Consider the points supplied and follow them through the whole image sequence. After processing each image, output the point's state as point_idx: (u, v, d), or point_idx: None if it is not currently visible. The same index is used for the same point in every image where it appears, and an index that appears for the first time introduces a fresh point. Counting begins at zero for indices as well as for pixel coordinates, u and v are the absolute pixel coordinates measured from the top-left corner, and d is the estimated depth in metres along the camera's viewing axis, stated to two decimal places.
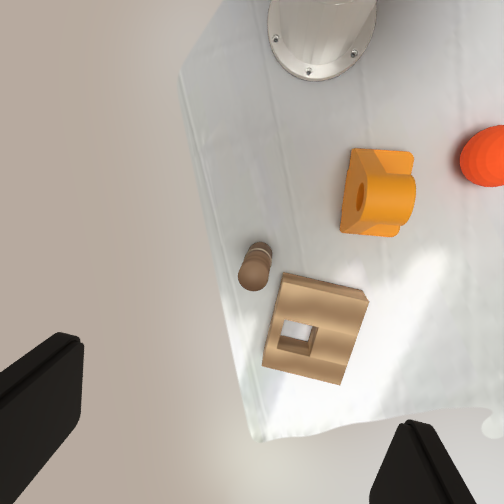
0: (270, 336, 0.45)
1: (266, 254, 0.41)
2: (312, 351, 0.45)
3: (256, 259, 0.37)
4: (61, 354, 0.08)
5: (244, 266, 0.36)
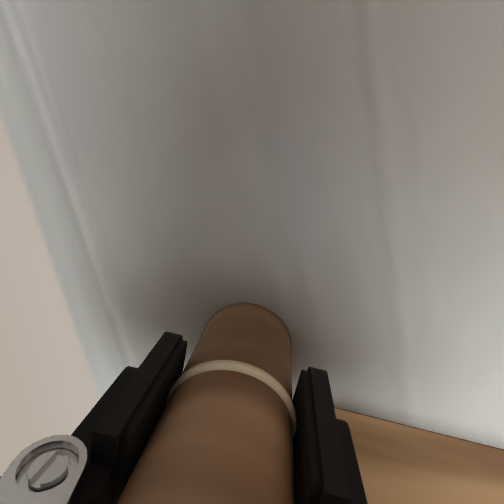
0: None
1: (272, 407, 0.07)
2: None
3: None
4: (176, 351, 0.09)
5: None
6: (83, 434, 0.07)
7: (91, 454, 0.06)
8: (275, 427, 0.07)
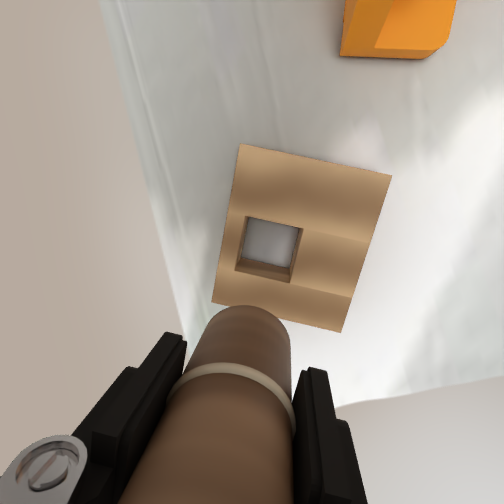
0: (223, 248, 0.26)
1: (271, 410, 0.07)
2: (294, 273, 0.26)
3: None
4: (176, 351, 0.09)
5: None
6: (83, 434, 0.07)
7: (91, 454, 0.06)
8: (274, 430, 0.07)
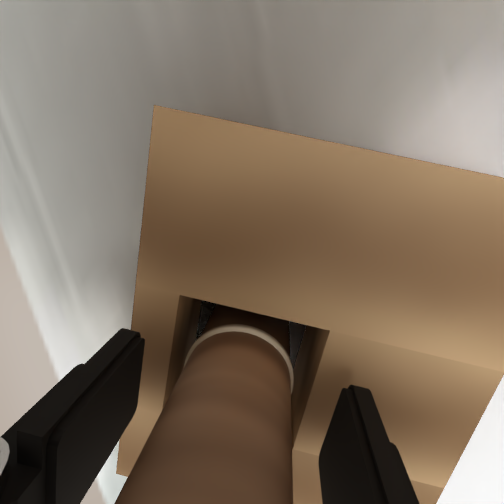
0: None
1: (273, 358, 0.09)
2: (303, 429, 0.11)
3: (212, 461, 0.06)
4: (129, 348, 0.09)
5: None
6: (16, 434, 0.06)
7: (17, 455, 0.06)
8: (276, 372, 0.09)
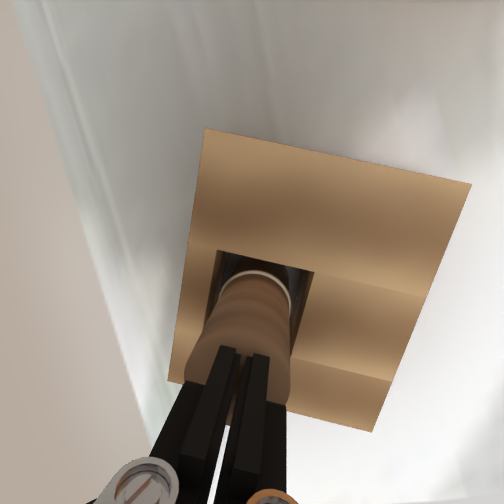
0: (182, 301, 0.16)
1: (278, 288, 0.15)
2: (297, 342, 0.16)
3: (248, 317, 0.11)
4: (234, 365, 0.09)
5: (205, 347, 0.10)
6: (161, 454, 0.07)
7: (177, 476, 0.06)
8: (280, 295, 0.14)
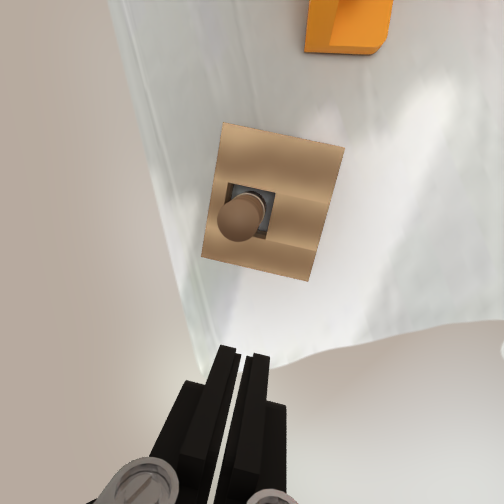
0: (210, 210, 0.32)
1: (257, 199, 0.31)
2: (268, 231, 0.32)
3: (242, 198, 0.27)
4: (234, 365, 0.09)
5: (225, 206, 0.26)
6: (161, 454, 0.07)
7: (177, 476, 0.06)
8: (258, 201, 0.30)
